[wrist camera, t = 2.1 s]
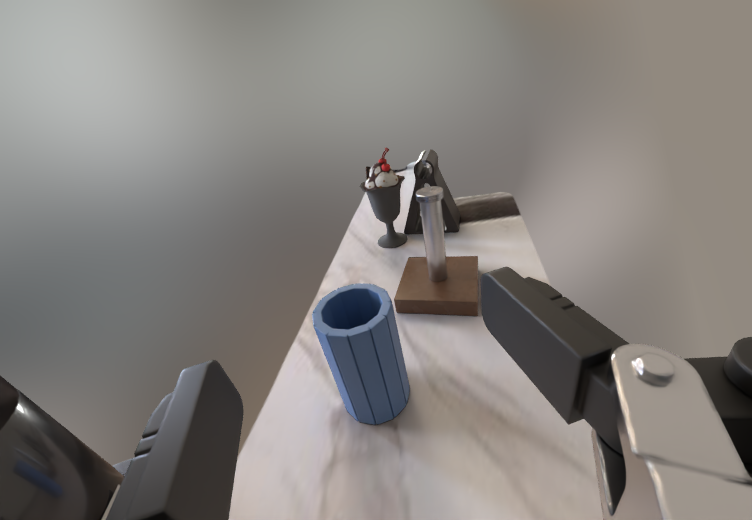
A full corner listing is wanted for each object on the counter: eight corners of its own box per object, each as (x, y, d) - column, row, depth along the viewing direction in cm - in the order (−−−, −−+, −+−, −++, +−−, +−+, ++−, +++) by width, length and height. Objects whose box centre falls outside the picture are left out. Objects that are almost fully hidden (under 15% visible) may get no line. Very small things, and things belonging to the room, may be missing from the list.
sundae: (413, 247, 48) (399, 149, 41) (371, 253, 49) (349, 158, 42) (412, 229, 54) (400, 139, 46) (374, 234, 55) (356, 147, 47)
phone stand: (460, 216, 55) (456, 145, 49) (458, 232, 50) (454, 156, 44) (410, 219, 58) (400, 153, 51) (404, 234, 53) (392, 163, 47)
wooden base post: (396, 312, 36) (376, 211, 30) (410, 269, 43) (396, 180, 37) (477, 316, 33) (474, 205, 27) (478, 268, 40) (475, 172, 34)
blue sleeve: (335, 418, 26) (298, 333, 21) (356, 363, 31) (330, 282, 26) (401, 429, 24) (378, 339, 19) (414, 369, 29) (398, 283, 24)
